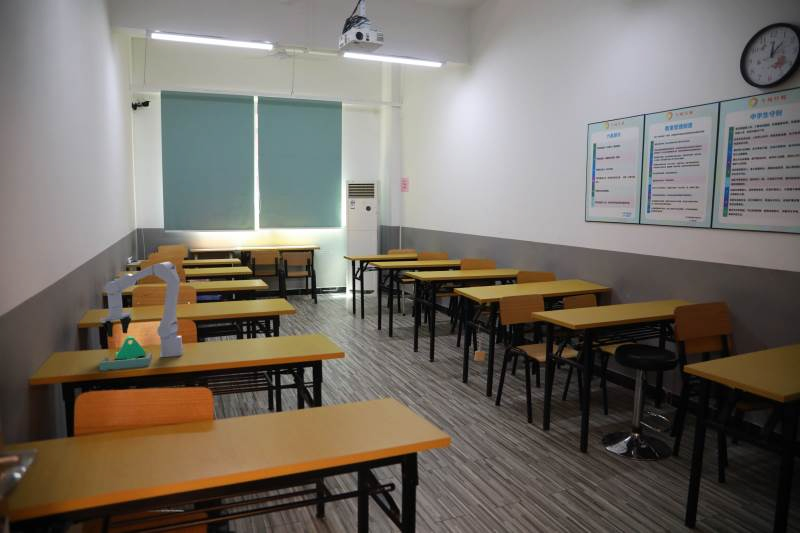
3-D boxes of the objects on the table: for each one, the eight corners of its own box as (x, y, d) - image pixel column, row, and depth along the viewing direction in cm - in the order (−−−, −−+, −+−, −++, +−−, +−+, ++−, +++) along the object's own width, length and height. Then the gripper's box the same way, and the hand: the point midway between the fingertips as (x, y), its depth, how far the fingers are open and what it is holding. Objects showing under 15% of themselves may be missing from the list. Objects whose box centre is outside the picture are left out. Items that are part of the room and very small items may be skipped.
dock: (152, 358, 249) (151, 350, 249) (148, 365, 237) (148, 358, 236) (105, 362, 243) (105, 355, 242) (100, 370, 230) (99, 362, 230)
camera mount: (144, 353, 258) (142, 332, 257) (146, 357, 251) (144, 336, 250) (116, 357, 252) (114, 336, 251) (117, 361, 245) (115, 339, 244)
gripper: (123, 303, 260) (125, 330, 261) (95, 308, 247) (97, 337, 248) (133, 304, 257) (135, 332, 258) (105, 309, 244) (108, 338, 245)
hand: (117, 334), depth 253 cm, fingers open, 7 cm apart
